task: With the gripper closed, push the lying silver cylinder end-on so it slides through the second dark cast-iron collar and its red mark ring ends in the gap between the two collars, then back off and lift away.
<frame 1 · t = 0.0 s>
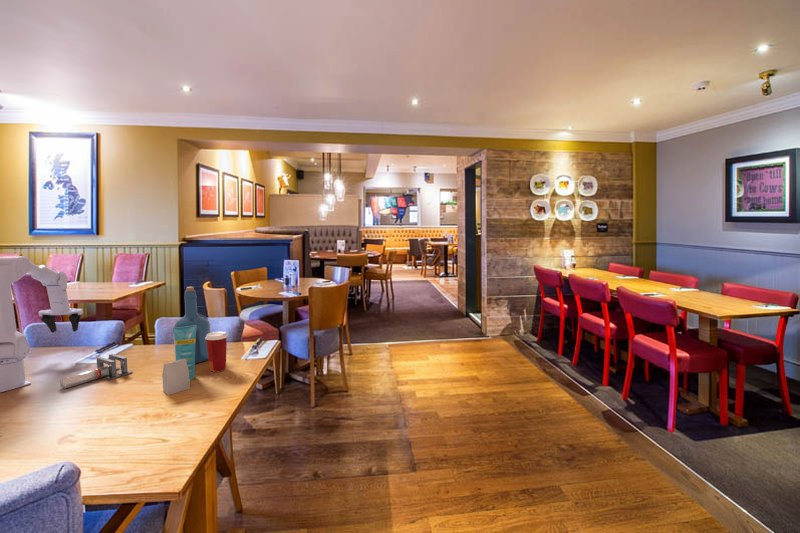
hand: (64, 331, 161), 11 cm above the table, tool pointing down, fingers open, 7 cm apart
collar b: (118, 372, 145), on the table
tube: (187, 379, 140), on the table
silver cylinder: (87, 381, 136), on the table
tea bag: (176, 390, 130), on the table
collar a: (106, 375, 142), on the table
wine bottle: (194, 360, 159), on the table
paper cup: (217, 369, 149), on the table
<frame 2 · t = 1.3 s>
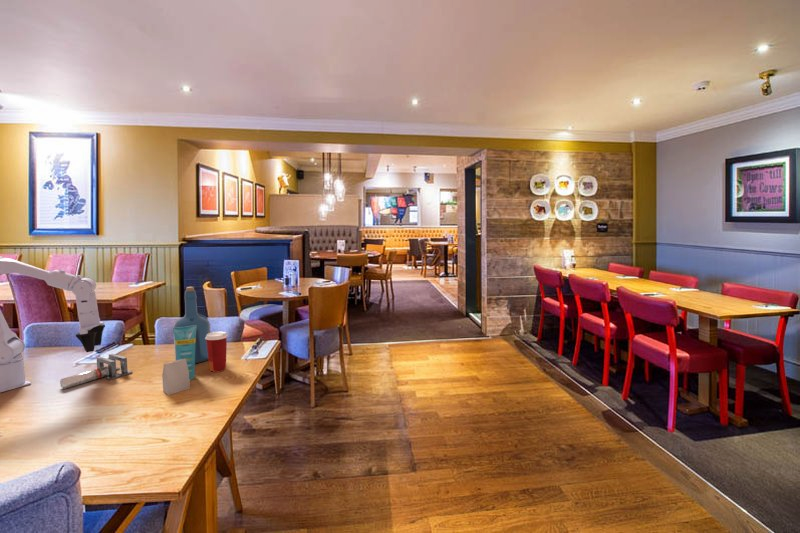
hand: (93, 348, 141), 10 cm above the table, tool pointing down, fingers open, 7 cm apart
nothing on the table moved.
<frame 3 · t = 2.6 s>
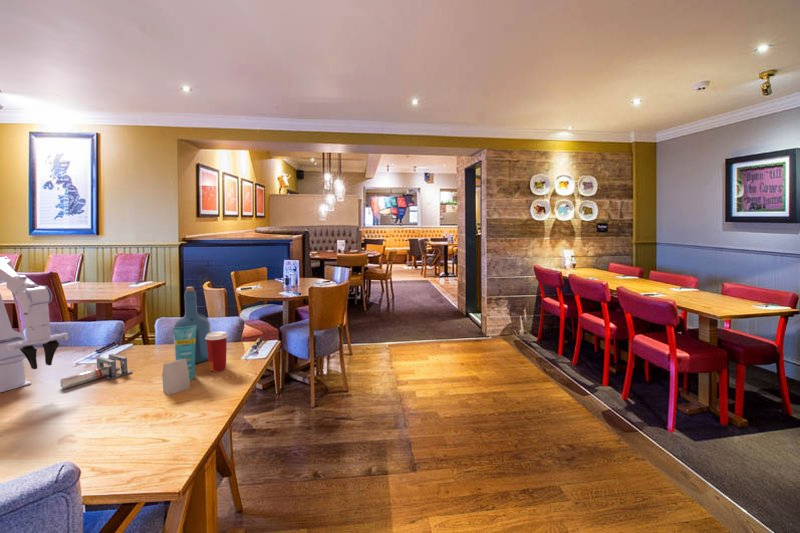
hand: (41, 366, 125), 9 cm above the table, tool pointing down, fingers open, 3 cm apart
nothing on the table moved.
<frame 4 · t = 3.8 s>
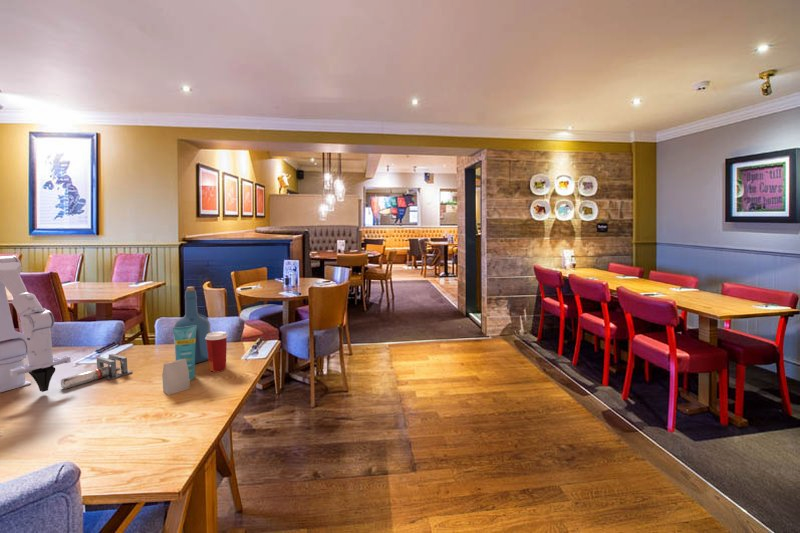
hand: (43, 390, 125), 1 cm above the table, tool pointing down, fingers closed
silver cylinder: (87, 381, 136), on the table, tilted 13°
everything else where it was.
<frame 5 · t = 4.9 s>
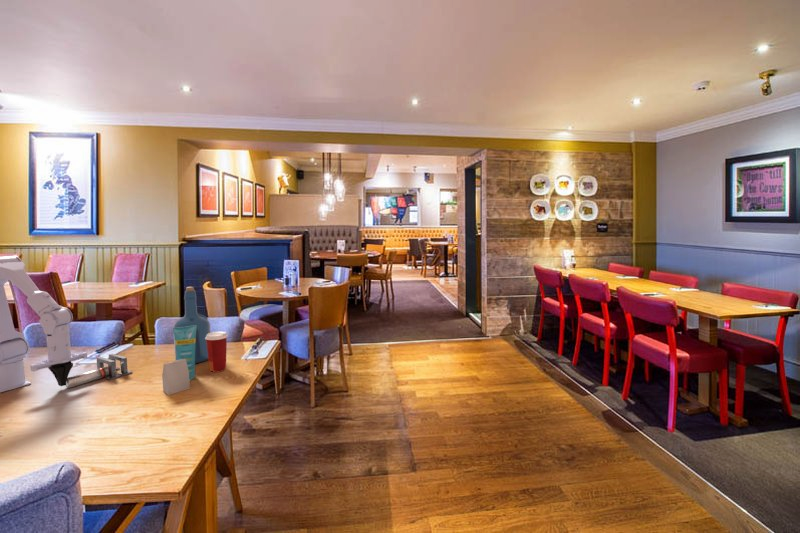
hand: (62, 385, 130), 1 cm above the table, tool pointing down, fingers closed
silver cylinder: (90, 380, 137), on the table, tilted 19°, touching gripper
everything else where it was.
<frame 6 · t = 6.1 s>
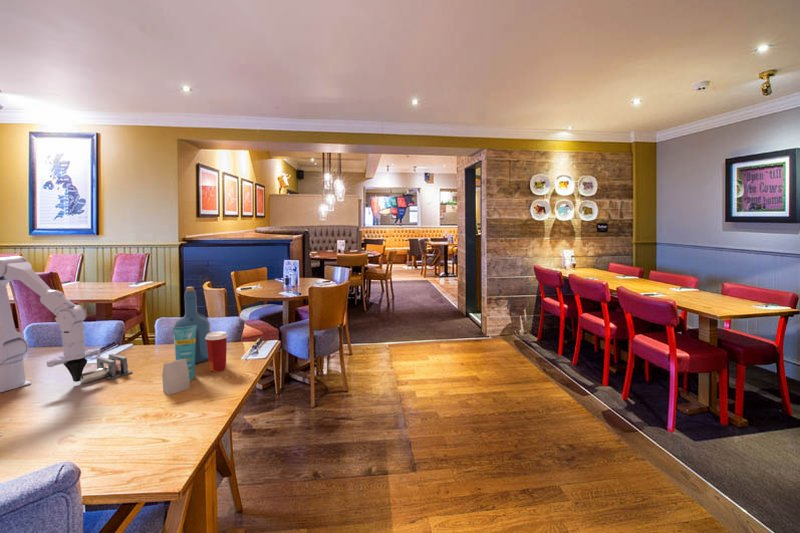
hand: (76, 380, 133), 1 cm above the table, tool pointing down, fingers closed
silver cylinder: (104, 376, 141), on the table, tilted 19°, touching gripper
everything else where it was.
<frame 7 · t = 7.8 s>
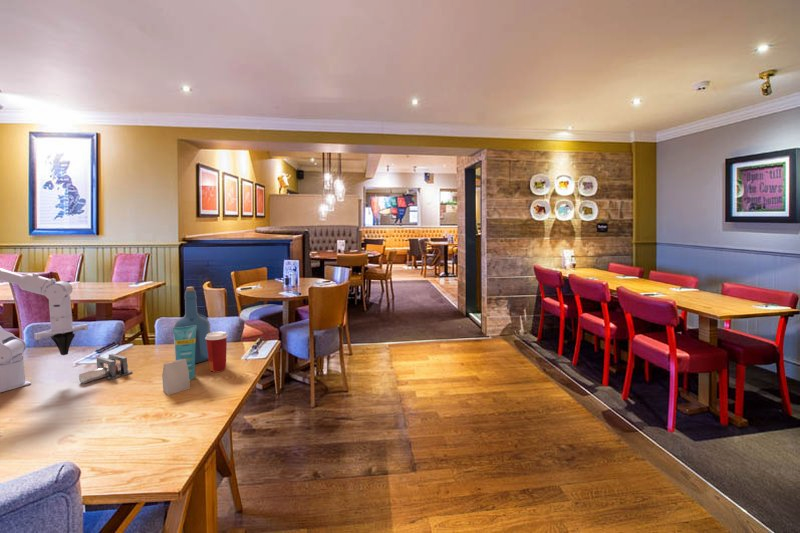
hand: (64, 354, 136), 9 cm above the table, tool pointing down, fingers closed
silver cylinder: (104, 376, 141), on the table, tilted 15°
everything else where it was.
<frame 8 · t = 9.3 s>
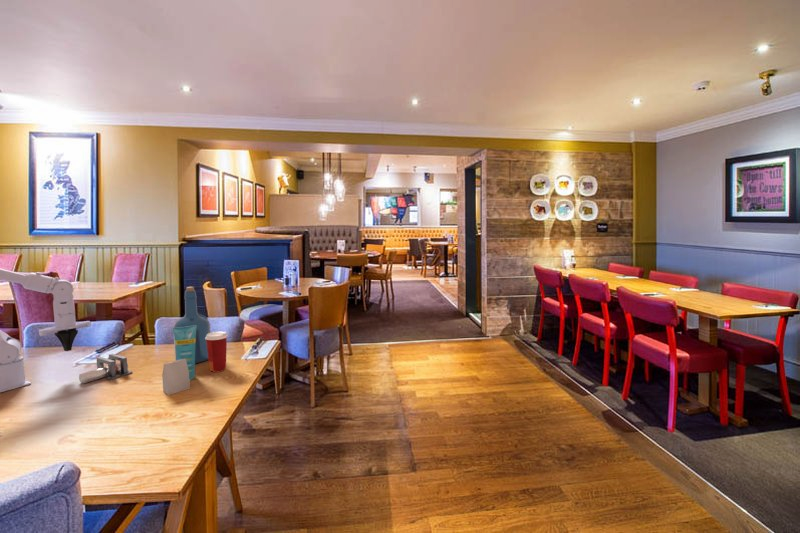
hand: (67, 350, 141), 9 cm above the table, tool pointing down, fingers closed
nothing on the table moved.
at the end: silver cylinder 0.3 cm from the target spot, on the table; silver cylinder moved 5.2 cm from its start; the gripper is holding nothing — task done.
